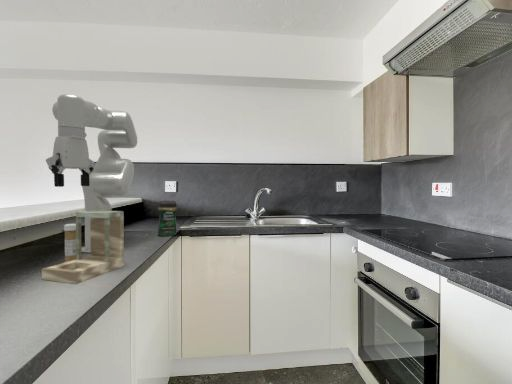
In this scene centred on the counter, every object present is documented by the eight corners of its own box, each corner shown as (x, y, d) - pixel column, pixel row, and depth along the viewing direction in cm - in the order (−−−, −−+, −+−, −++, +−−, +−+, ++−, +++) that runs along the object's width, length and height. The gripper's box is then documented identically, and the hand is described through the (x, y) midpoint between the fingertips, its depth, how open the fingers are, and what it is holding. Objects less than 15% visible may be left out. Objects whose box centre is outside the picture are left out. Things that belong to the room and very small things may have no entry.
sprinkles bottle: (78, 261, 100) (77, 222, 100) (82, 264, 97) (82, 224, 97) (62, 264, 97) (62, 224, 96) (66, 266, 94) (66, 225, 93)
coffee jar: (158, 237, 149) (158, 201, 149) (157, 234, 156) (157, 200, 156) (177, 235, 152) (177, 200, 152) (176, 233, 160) (176, 200, 159)
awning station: (94, 263, 98) (93, 210, 98) (123, 266, 95) (123, 211, 94) (41, 279, 81) (41, 215, 80) (75, 283, 78) (75, 216, 77)
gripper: (84, 138, 104) (85, 185, 105) (36, 130, 88) (38, 186, 89) (101, 137, 102) (102, 185, 103) (56, 129, 86) (57, 187, 86)
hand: (72, 186), depth 96 cm, fingers open, 9 cm apart
